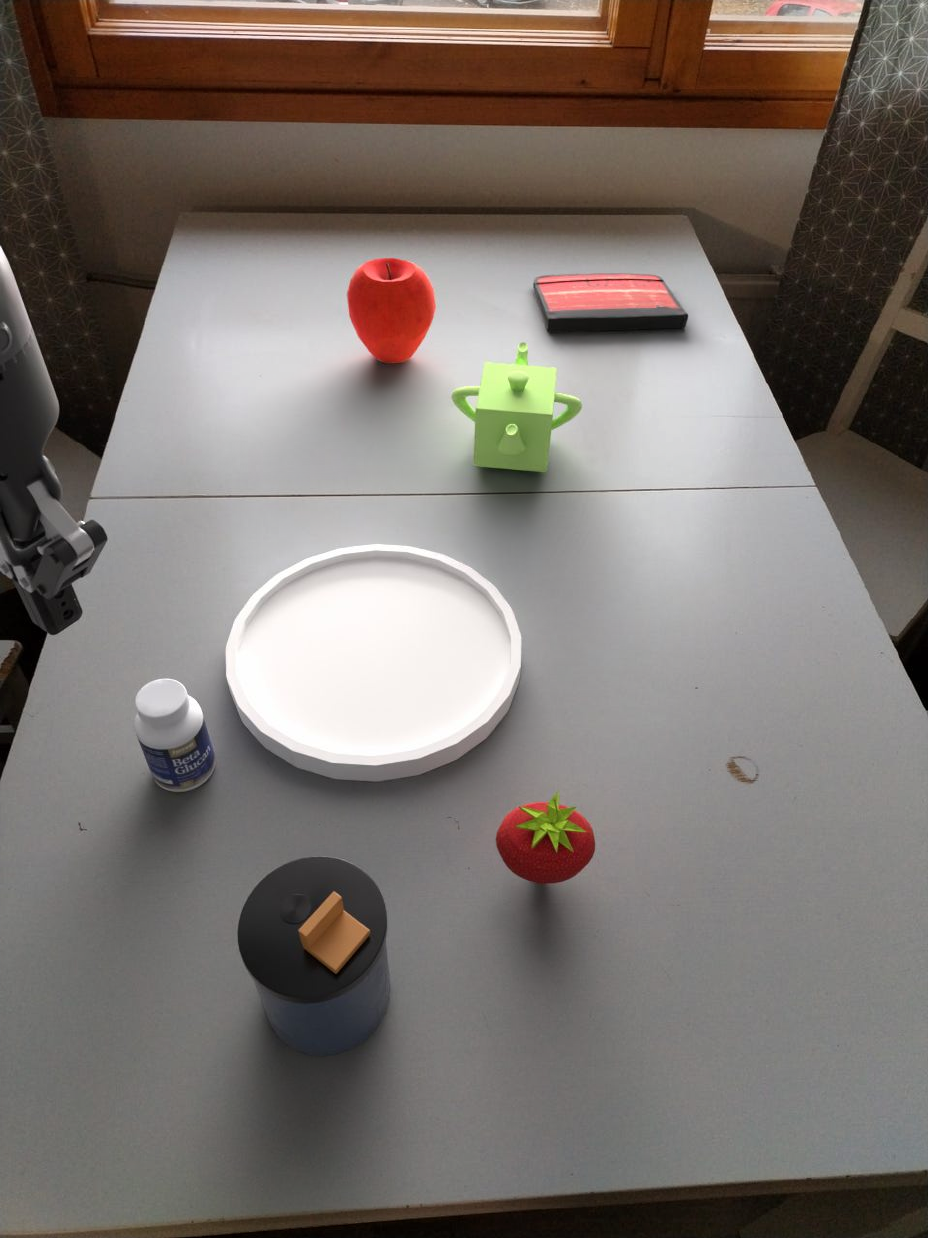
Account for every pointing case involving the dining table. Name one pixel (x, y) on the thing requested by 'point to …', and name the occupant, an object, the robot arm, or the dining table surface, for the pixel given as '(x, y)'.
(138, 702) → the pill bottle
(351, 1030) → the travel cup
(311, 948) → the orange l-shaped block
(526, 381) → the teapot
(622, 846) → the dining table surface
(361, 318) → the apple
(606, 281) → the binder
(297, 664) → the plate
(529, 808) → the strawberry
